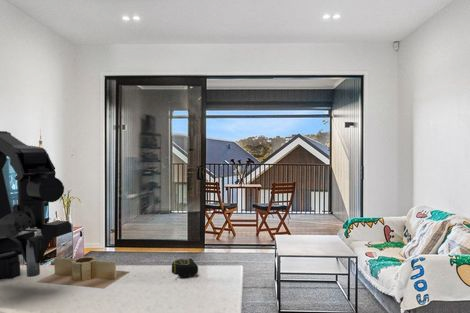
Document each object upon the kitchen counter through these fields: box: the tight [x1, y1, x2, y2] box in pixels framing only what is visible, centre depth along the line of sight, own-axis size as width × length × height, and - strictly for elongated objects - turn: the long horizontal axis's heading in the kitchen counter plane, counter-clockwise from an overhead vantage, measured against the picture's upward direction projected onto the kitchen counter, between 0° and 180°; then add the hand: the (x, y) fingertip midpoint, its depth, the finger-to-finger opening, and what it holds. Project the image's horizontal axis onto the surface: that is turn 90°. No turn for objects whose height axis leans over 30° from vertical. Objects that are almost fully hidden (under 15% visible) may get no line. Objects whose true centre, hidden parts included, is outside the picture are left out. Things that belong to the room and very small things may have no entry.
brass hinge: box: [53, 255, 117, 281], centre depth 96 cm, size 19×6×4 cm, turn 76°
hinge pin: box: [25, 238, 41, 278], centre depth 88 cm, size 3×3×9 cm
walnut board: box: [36, 270, 130, 289], centre depth 96 cm, size 20×12×1 cm, turn 76°
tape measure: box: [171, 258, 199, 278], centre depth 100 cm, size 7×7×4 cm
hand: (33, 262), depth 88 cm, fingers closed on hinge pin, 3 cm apart
